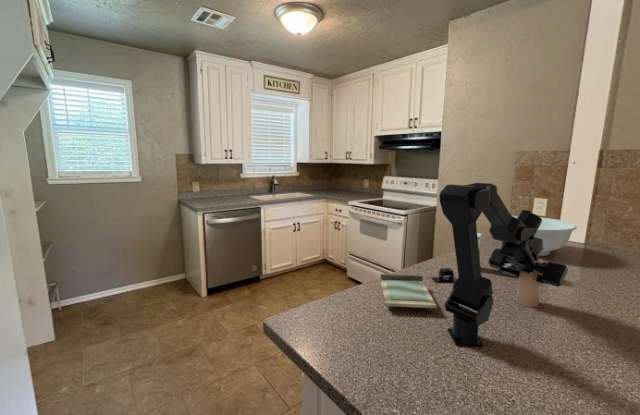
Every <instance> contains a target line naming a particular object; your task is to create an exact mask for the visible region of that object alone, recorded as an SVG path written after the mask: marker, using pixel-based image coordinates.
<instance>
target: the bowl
mask: <svg viewBox="0 0 640 415" xmlns="http://www.w3.org/2000/svg"><path fill="white" fill-rule="evenodd" d="M512 216H513V217H515V218H517V217H518V215H512ZM539 217H540V216H539ZM540 218H541V219H542V222H541V224H540V226H539V228H538V230H537V232H536V234H535V236H534V237H536V238H541V239H542V241H543V250H541V252H540V253H539V254H538V255H539V257H543V256H544V257H546V256H549V255H550V252H551V251H555V250H559V249H561V248H563V247H564V246H566V244H568V242H569V241H570V239H571V238H570V237H571V235H572V232H573V231H575V230H577V229H578V228H577V227H578V226H577V225H576V224H575V223H572V222H570V221H567V220H563V219H555V218H549V217H540Z"/></svg>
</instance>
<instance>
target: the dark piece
mask: <svg viewBox="0 0 640 415" xmlns="http://www.w3.org/2000/svg"><path fill="white" fill-rule="evenodd" d="M430 279H431V280H432V281H433V282H434V283H435V284H454V283H455V282H456V280H457V279H458V278H457V277H456V276H455V273H454V269H453V270H452V268H450V267H440V268H439V270H438V276H431V277H430Z"/></svg>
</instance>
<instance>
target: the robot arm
mask: <svg viewBox="0 0 640 415" xmlns="http://www.w3.org/2000/svg"><path fill="white" fill-rule="evenodd" d="M439 203H440V207H441V211H442V214H443V216H444V217H445V218H446V219H447V221H448V222H449V223H450V224H451V228H452V236H453V242H454V243H453V245H454V250H455V251H454V252H455V259H456V266H457V274H458V278H457V280H456V282H455V283H452V291H451V292H450V294H449V296H448V298H447V299H446V301H445V303H444V310H445V311H446V312H448V313H451V314H453V316H452V317H453V319H452V328H450V327H449V328H447V330H446V331H447V332H448V335H449V336H450V338H451V340H452V342H453V343H454V345H455V346H464V347H480V348H481V347H484V343H483V342H482V340H481V338H480V337H479V327H480V326H481V325H482V324H484V323H486V322H488V321H489V319H490V316H491V312H492V308H493V305H494V297H493V295H494V292H493V289H492V288H493V287H492V286H493V283H492V281H491V279H490V278H487V277H484V276H482V275H483V274H482V269H481V267H482V266H481V257H480V256H479V247H478V237H477V233H478V227H477V220H478V219H479V217H480V216H481V215H482V213H483V215H484V216H485V218H486V219H487V221H488V222H489V223H490V226H489V229H488V231H489V233H490V236H491V238H492V239H493V240H495V241H500V242H501V245H502V248H501V247H500V248H498V247H497V248H495V249H493V250H492V252H491V255H490V257H489V258H488V262H487V263H488V264H489V266H490V268H493V269H497V270H499V269H500V270H501V271H504V272H506V273H509V274H511V275H514V276H516V277H519V272H523V273H527V274H530V273H533V271H538V274H539V275H538V277H537V279H536V281H537V282H538V283H540V284H541V286H544V285H550V286H554V287H557V288H559V287H561V286H562V284H563V283H564V280H565V277H566V275H567V273H568V271H569V269H568V266H567V265H566V264H565V263H561V262H557V261H553V260H549V261H548V262H545V261H544V263H537V262H535V261H538V260H539V259H541V258H540V257H541V256H539V255H538V254H539V253H540V252H541V250H543V241H542V239H541V238H536V237H534V236H535V234H536V232H537V230H538V228H539V226H540V224H541V222H542V219H541V218H540V216H539V215H537V214H535V213H533V212H532V211H531V210H528V209H527V210H526V209H522V210H521V211H520V213H518V215H517V216H518V217H517V218H515V217H513V216H514V215H511V212H509V210H508V208H507V206H506V205H505V203H504V202H503V200H502V198H501V197H500V194H498V187H497V185H495V184H493V183H487V182H485V183H484V182H474V183H469V184H465V185H464V184H463V185H462V184H451V183H449V184H447V185H445V186H444V187H443V189H441V191H440V193H439ZM516 277H515V278H516Z"/></svg>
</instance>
